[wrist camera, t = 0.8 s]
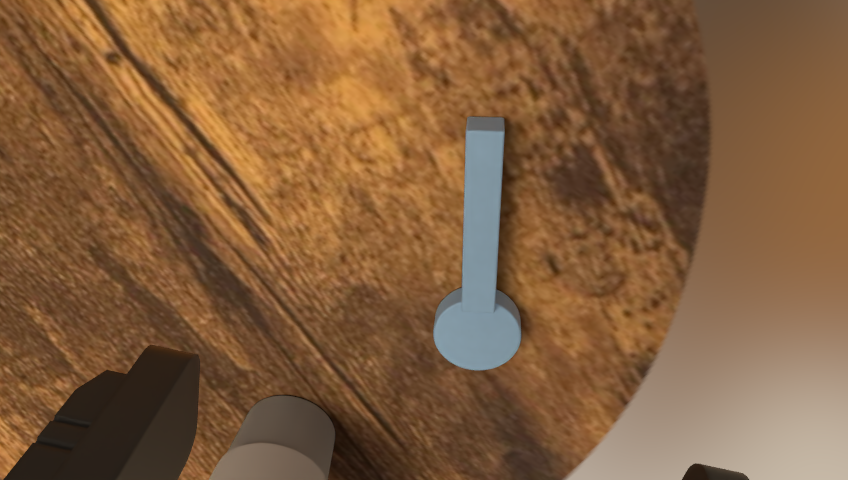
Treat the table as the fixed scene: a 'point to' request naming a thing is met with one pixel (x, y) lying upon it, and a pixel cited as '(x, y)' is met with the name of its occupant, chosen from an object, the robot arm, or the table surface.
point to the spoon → (480, 263)
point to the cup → (280, 443)
